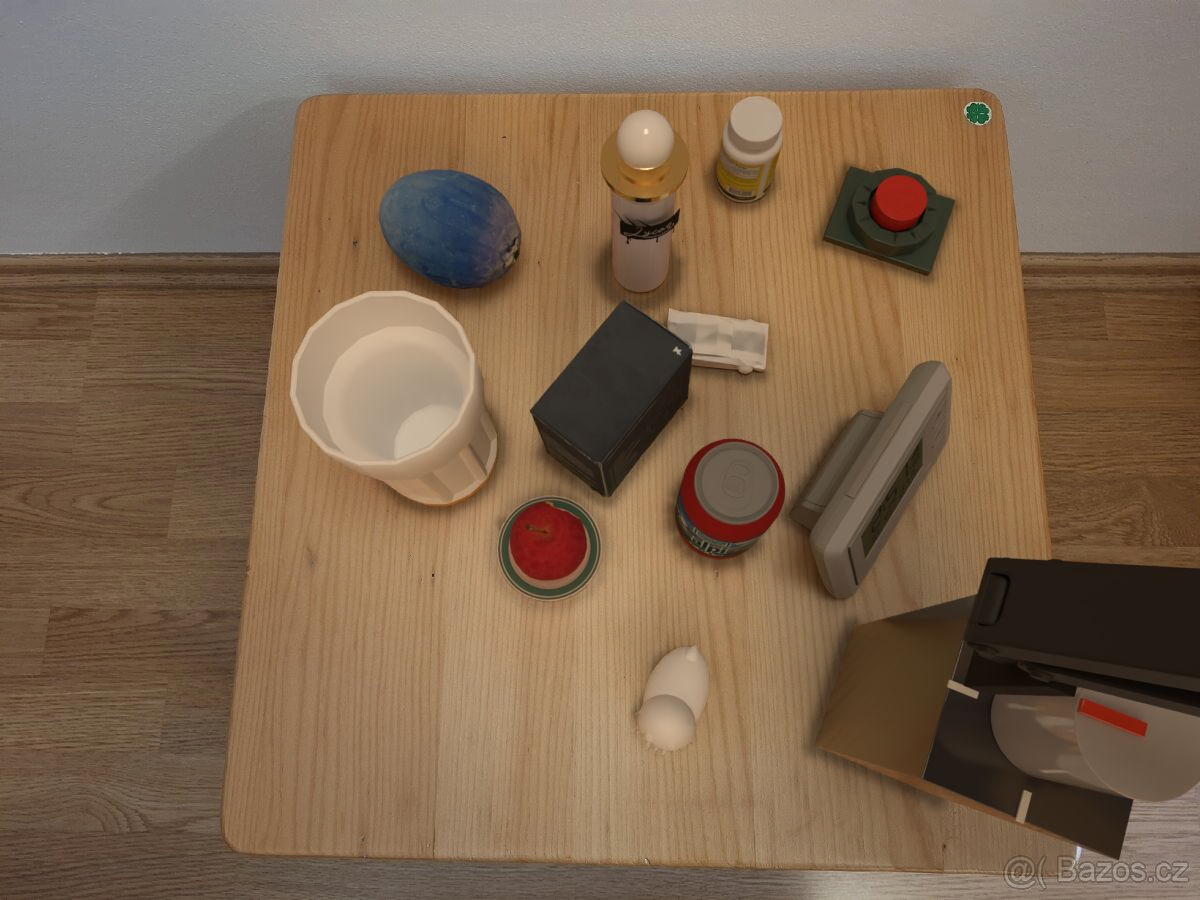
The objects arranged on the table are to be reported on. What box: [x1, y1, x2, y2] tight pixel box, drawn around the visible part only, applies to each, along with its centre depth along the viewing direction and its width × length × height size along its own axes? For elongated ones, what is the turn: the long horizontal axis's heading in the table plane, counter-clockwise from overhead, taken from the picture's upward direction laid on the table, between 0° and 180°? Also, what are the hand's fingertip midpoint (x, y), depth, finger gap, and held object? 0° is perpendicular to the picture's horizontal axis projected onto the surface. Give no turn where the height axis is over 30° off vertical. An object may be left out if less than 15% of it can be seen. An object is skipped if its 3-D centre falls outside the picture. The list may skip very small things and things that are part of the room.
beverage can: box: [674, 438, 786, 560], centre depth 62 cm, size 7×7×12 cm
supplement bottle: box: [715, 95, 784, 203], centre depth 71 cm, size 5×5×8 cm
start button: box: [870, 175, 927, 231], centre depth 71 cm, size 4×4×2 cm
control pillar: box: [813, 593, 1135, 861], centre depth 52 cm, size 9×9×24 cm
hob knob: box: [991, 687, 1200, 803], centre depth 37 cm, size 5×5×8 cm
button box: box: [822, 165, 956, 276], centre depth 73 cm, size 9×7×2 cm
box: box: [529, 299, 693, 498], centre depth 65 cm, size 11×7×10 cm, turn 142°
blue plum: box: [378, 168, 553, 290], centre depth 70 cm, size 9×9×15 cm
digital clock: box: [789, 360, 953, 599], centre depth 63 cm, size 16×9×11 cm, turn 134°
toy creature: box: [632, 644, 711, 759], centre depth 62 cm, size 5×8×6 cm, turn 157°
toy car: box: [666, 307, 770, 375], centre depth 70 cm, size 5×8×2 cm, turn 83°
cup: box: [288, 289, 499, 507], centre depth 62 cm, size 11×11×17 cm
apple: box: [496, 495, 603, 602], centre depth 65 cm, size 8×8×6 cm
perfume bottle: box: [599, 108, 690, 293], centre depth 64 cm, size 6×6×20 cm
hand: (1175, 728), depth 31 cm, fingers open, 13 cm apart
